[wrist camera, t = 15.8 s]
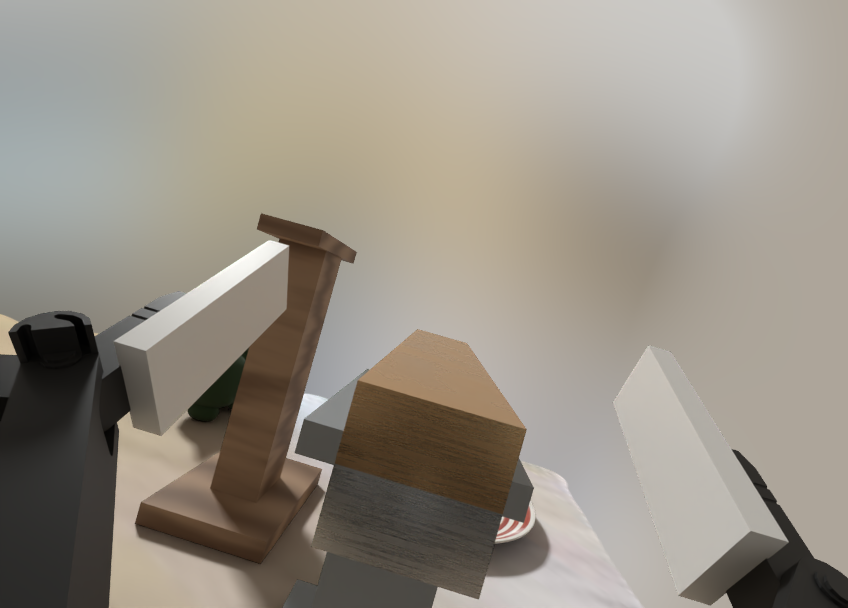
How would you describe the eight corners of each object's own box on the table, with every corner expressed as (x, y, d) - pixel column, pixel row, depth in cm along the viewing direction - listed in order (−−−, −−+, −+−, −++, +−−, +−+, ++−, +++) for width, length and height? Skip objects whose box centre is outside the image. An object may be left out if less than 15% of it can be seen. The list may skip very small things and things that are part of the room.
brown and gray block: (479, 599, 9) (526, 429, 9) (311, 546, 9) (357, 380, 9) (453, 392, 31) (466, 343, 31) (403, 378, 31) (417, 329, 31)
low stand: (425, 1003, 15) (564, 507, 15) (138, 897, 16) (271, 418, 16) (434, 650, 31) (503, 405, 31) (290, 603, 32) (357, 363, 32)
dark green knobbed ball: (214, 392, 78) (143, 424, 53) (243, 299, 79) (187, 287, 55) (263, 404, 79) (215, 440, 54) (290, 311, 80) (257, 305, 56)
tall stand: (260, 563, 35) (351, 237, 35) (135, 523, 36) (224, 202, 36) (317, 484, 51) (380, 259, 51) (230, 457, 52) (292, 234, 52)
